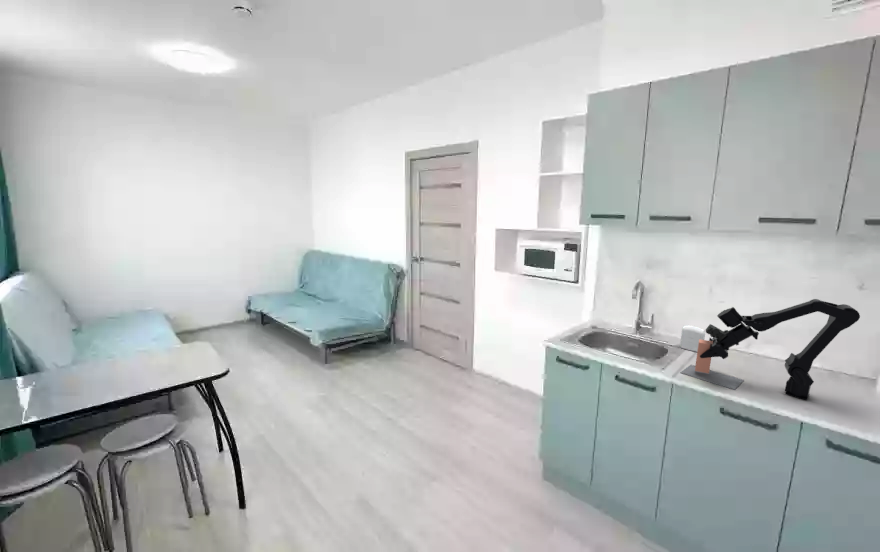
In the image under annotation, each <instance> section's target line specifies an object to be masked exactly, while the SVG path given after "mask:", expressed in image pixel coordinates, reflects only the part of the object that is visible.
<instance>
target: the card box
mask: <svg viewBox="0 0 880 552" xmlns="http://www.w3.org/2000/svg"><path fill="white" fill-rule="evenodd" d="M710 343H711V344H713V341H709V340H707V339H704V340H701V339H699V343H698V351H697V352H696V360H695V371H699V372H704V373H709V370H711V362H712V357H708V358H701V357H700V355H701V354H702V353H704V352H705V351H706V350H708V349H709V348H710Z"/></svg>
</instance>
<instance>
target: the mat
mask: <svg viewBox="0 0 880 552" xmlns="http://www.w3.org/2000/svg"><path fill="white" fill-rule="evenodd" d="M695 365H696V364H695ZM695 365H693V364H690V365H688V366H687V367H686V368H684V369H683V370H681V371H680V374H682V375H685V376H689V377H692V378H695V379H697V380H698V379H699V380H700V381H701V380H702V381H705V382H708V383H710V384H714V385H717V386H720V387H723V388H727V389H730V390H734V391H735V390H736V389H738V387H740V385H741V384H742V383H743V382H745V379H742V378H739V377H735V376H733V375H732V376H731V375H729V374H725V373H722V372H718V371H714V370H711V369H710V370H709V373H704V372H699V371H695Z"/></svg>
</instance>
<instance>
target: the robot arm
mask: <svg viewBox="0 0 880 552" xmlns="http://www.w3.org/2000/svg"><path fill="white" fill-rule="evenodd" d="M816 312H817V313H822V314H824V315H827V316H828V319H827V322H826V324H825V325H824V326H822V328H821V329H820V331H818V332H817V333H816V334H815V336H814V337H813V338H812V339H811V340H810V341H809V342H808V344H807V345H806V346H805V347H804V348H803V349H802V350H801V351H800V352H799V353H796V354H795V353H793V352H791V353H790V355H788V357H787V358H786V359H784V368H785V370H786V372H787V374H788V375H789V376H790V377H789V378H788V379H787V380H786V383H785V386H784V387H785V388H784V391H785V392H784V393H785V395H788V396H790V397H791V396H792V397H795V398H797V399H802V400H804V401H808V399H809V398H810V391H811V387H812V385H813V384H814V382H815V381H814V379H813V378H812V377H811V376H810V374H809V372H810V371H811V368H812V366H813V363H814V360H815V359H817V357H818V356H819V355H820V354H821V353H822V352H823V351H824V350H825V349H826V347H827V346H828V345H829V344H830V343H831V342H832V341H833V340H834V339H835V338H836V337H837V336H838V335H839V334H840V333H841V332H842V331H844V330H847V329H848V328H850V327H851V326H853V325H854V324H856V323H857V322H858V321H859V319H860V317H861V315H860V313H859V311H858V310H856V309H855V308H853V307H852V306H851V305H849V304H845V303H844V304H836V303H833V302H828V301H825V300H821V299H818V298H813V299H810V300H809V301H805V302H803V303H799V304H796V305H793V306H789V307H786V308H783V309H780V310H776V311H772V312H770V311H769V312H760V313H756V314H752V315H741V314H740V313H739V312H738V310H737V309H736V308H735V307H734V306H731V307H730V308H727V309H724V310H721V311H720V312H719V313H718V314H717V315H716V316H717V318H718V319H719V320H720V321H721V322H722V323H723V324H724V325H725V326H726V327H727V328H731V329H724V330H722V329H720V328H718V327H717V326H715V325H713V324H711V323H709V325H708V326H706V328H705V334H707V335H710V337H709V339H708V341H713V344H711V343H710V348H709V349H708V350H706V351H705V352H704V353H702V354H701V355H700V357H701V358H708V357H711V358H719V357H720V358H722V359H723V360H725V359H726V358H728V357H729V351H730V348H731V347H734V346H739V345H740V343H741V342H743V341H745V340H747V339H749V338H750V337H753V338H754V339H755V340H758V337H759V334H760V333H759V332H761V333H762V332H766V331H767V330H770V329H772V328H774V327H775V326H777V325H778V324H780V323H783V322H786V321H790V320H793V319H797V318H799V317H803V316H807V315H811V314H814V313H816Z"/></svg>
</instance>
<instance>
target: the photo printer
mask: <svg viewBox="0 0 880 552" xmlns="http://www.w3.org/2000/svg"><path fill="white" fill-rule="evenodd" d="M705 337H706V329H703V328H701V327H698V326H695V325H683V327H682V328H681V336H680V343H679V344H680V345H679V348H681V349H684V350H688V351H691V352H696V353H697V351H698V343H699V339H701V340H706V339H705Z"/></svg>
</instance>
